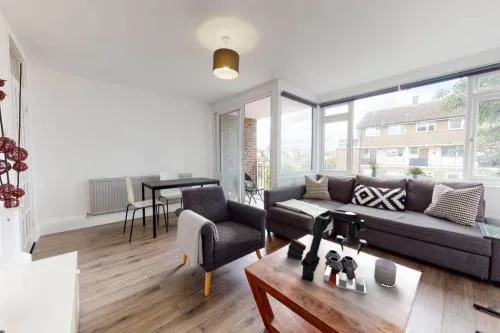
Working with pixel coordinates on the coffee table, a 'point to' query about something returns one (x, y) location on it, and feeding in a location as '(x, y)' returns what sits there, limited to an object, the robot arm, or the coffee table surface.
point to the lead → (350, 273)
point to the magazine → (296, 250)
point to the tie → (327, 273)
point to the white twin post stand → (350, 283)
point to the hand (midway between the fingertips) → (350, 253)
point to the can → (385, 272)
